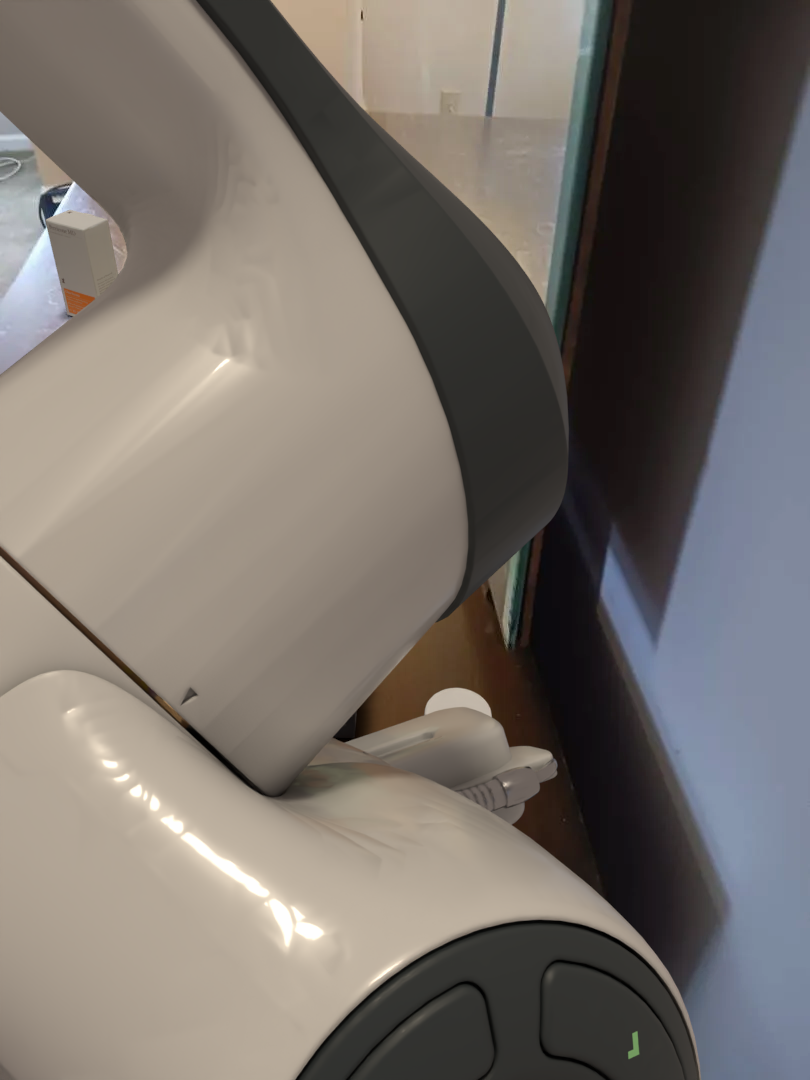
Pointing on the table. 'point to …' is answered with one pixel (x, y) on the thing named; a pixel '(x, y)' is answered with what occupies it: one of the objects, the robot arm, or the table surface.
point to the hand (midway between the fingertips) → (228, 803)
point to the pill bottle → (457, 701)
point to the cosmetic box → (81, 257)
